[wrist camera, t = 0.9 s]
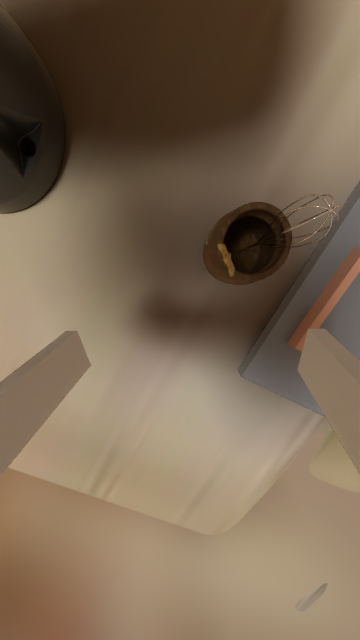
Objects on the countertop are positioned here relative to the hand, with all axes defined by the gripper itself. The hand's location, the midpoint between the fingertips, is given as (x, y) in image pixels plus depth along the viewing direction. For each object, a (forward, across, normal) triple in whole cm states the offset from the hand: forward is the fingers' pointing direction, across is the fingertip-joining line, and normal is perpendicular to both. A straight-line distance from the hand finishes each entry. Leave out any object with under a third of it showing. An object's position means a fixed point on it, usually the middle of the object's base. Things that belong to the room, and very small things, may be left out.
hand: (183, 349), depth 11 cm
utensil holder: (+12, +4, +3) cm, 13 cm away
